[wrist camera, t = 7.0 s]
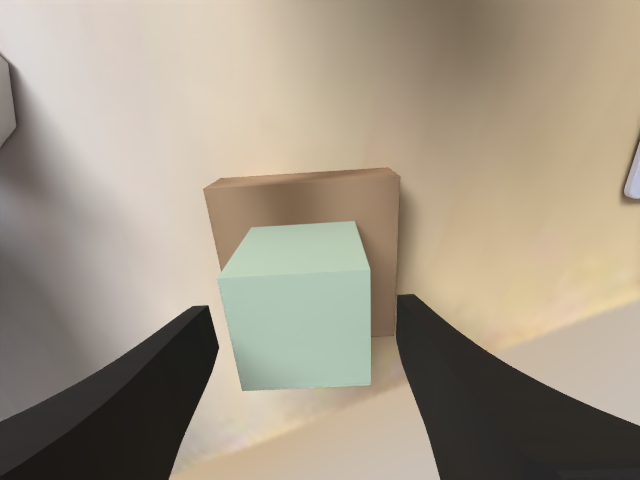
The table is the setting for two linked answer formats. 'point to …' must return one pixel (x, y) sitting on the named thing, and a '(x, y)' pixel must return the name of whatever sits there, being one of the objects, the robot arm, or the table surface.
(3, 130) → the flask
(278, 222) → the walnut base
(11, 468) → the robot arm
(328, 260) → the sage cube
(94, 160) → the table surface
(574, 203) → the table surface
